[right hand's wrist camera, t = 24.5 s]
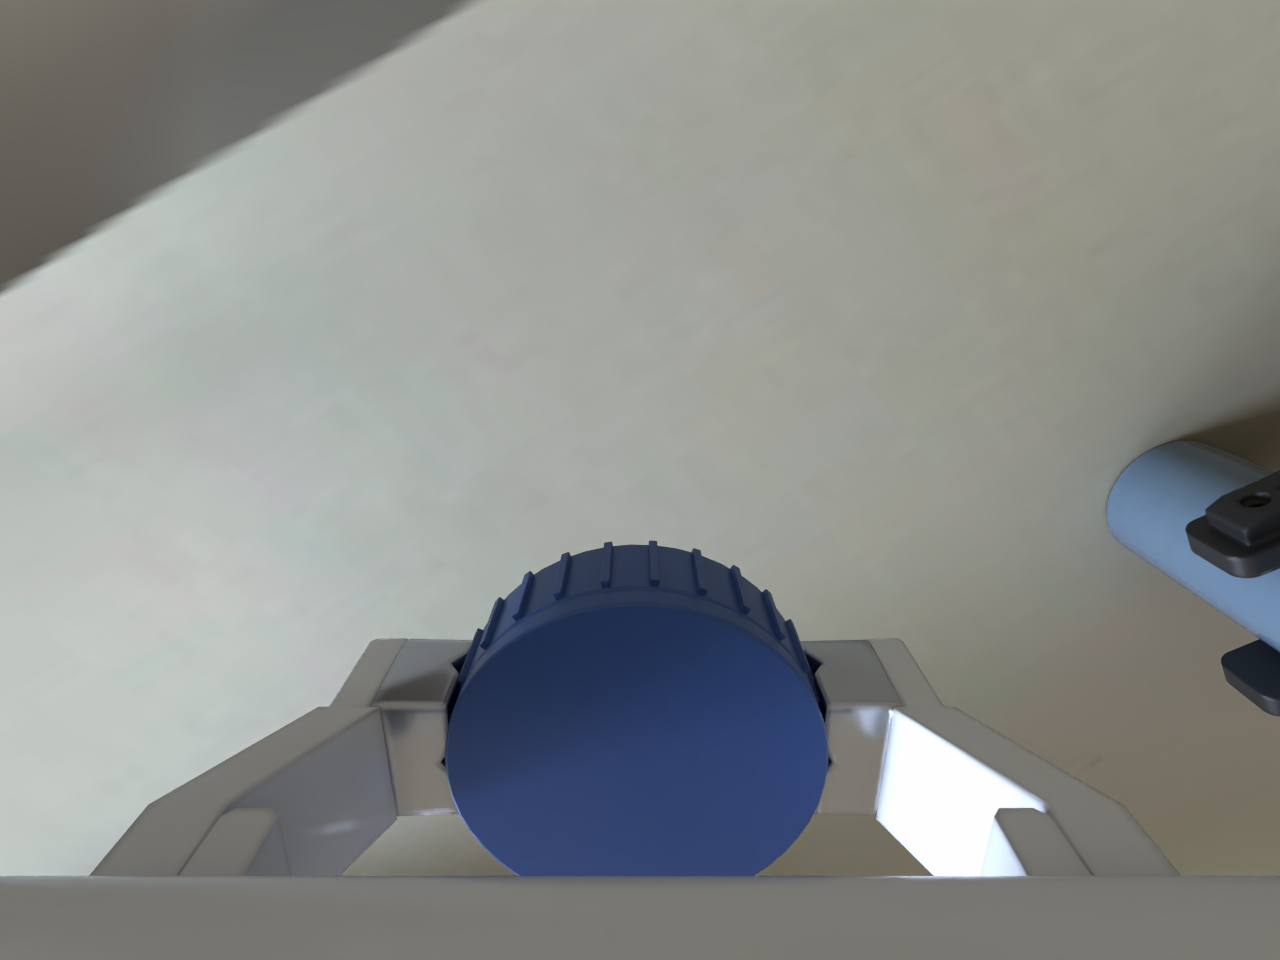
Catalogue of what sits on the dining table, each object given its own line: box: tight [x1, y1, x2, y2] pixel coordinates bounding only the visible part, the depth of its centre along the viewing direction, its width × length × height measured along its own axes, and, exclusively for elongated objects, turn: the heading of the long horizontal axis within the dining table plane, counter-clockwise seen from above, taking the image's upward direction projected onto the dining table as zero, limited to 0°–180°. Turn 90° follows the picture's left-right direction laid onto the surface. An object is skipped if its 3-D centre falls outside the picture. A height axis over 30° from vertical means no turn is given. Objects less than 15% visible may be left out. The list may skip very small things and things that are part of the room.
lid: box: [445, 541, 828, 876], centre depth 10 cm, size 5×5×2 cm
